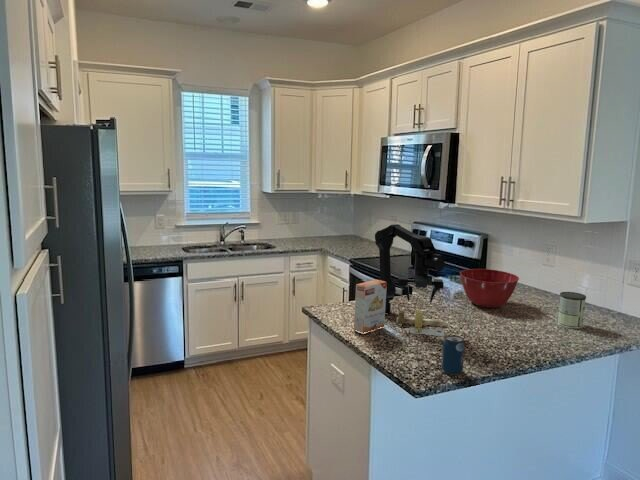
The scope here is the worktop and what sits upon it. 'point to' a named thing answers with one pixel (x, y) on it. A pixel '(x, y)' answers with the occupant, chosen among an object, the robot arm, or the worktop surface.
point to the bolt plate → (427, 331)
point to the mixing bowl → (488, 286)
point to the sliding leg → (418, 319)
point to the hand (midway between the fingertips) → (419, 302)
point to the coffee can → (571, 310)
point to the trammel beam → (402, 320)
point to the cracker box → (370, 305)
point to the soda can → (453, 355)
